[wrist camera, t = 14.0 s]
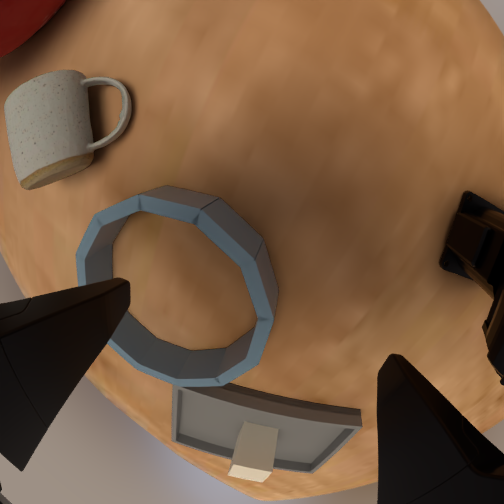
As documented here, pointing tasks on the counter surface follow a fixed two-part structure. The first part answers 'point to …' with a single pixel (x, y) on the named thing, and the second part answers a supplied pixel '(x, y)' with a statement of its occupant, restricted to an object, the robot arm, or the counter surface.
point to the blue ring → (230, 242)
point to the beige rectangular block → (254, 452)
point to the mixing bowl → (23, 20)
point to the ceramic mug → (55, 126)
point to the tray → (262, 413)
